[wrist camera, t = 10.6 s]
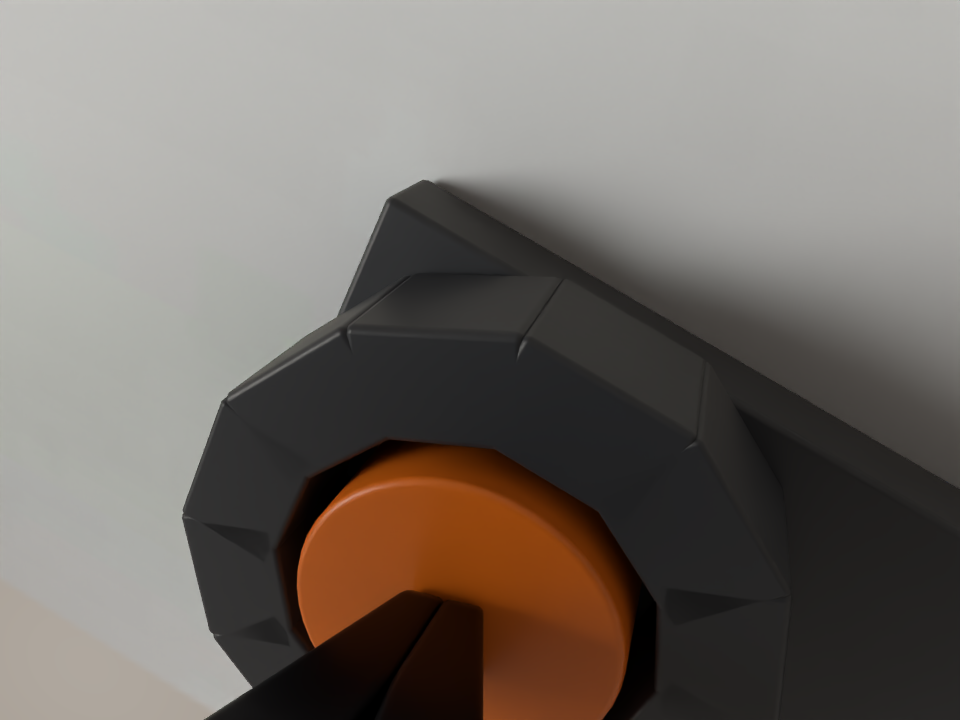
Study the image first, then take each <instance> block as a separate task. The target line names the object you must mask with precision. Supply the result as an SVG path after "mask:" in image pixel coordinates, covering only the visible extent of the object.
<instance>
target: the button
mask: <svg viewBox="0 0 960 720" xmlns="http://www.w3.org/2000/svg"><path fill="white" fill-rule="evenodd" d="M641 585H642V580H641V578H640V577H639V575H638V573H637V572H636V570H635V569H634V567H633V566H632V564H631V562H630V561H629V559H628V558H627V556H626V555H625V553H624V551H623V550H622V548H621V547H620V545H619V544H618V542H617V540H616V539H615V537H614V536H613V534H612V533H611V531H610V529H609V528H608V526H607V525H606V523H605V522H604V520H603V518H602V517H601V515H600V514H599V512H598V511H596V510H594V509H593V508H591V507H589V506H588V505H586V504H584V503H583V502H581V501H580V500H578V499H576V498H575V497H573V496H571V495H570V494H568V493H566V492H565V491H563V490H561V489H560V488H558V487H556V486H555V485H553V484H551V483H550V482H548V481H546V480H545V479H543V478H541V477H540V476H538V475H536V474H535V473H533V472H531V471H530V470H528V469H526V468H525V467H523V466H522V465H520V464H518V463H517V462H515V461H513V460H512V459H510V458H508V457H507V456H505V455H503V454H502V453H500V452H498V451H497V450H495V449H485V448H474V447H464V446H453V445H443V444H432V443H422V442H411V441H401V440H390V439H389V440H387V441H385V442H383V443H381V444H380V445H379V446H378V448H377V449H376V450H375V451H374V452H373V454H372V455H371V456H370V457H369V458H368V459H367V461H366V462H365V463H364V464H363V465H362V467H361V468H360V469H359V470H358V471H357V472H356V474H355V475H354V476H353V477H352V478H351V479H350V481H349V482H348V483H347V484H346V485H345V487H344V488H343V489H342V490H341V491H340V492H339V494H338V495H337V496H336V497H335V498H334V500H333V501H332V502H331V503H330V504H329V505H328V507H327V508H326V509H325V510H324V511H323V513H322V514H321V515H320V516H319V517H318V518H317V520H316V521H315V523H314V524H313V526H312V528H311V529H310V531H309V533H308V534H307V537H306V539H305V542H304V545H303V547H302V550H301V555H300V560H299V565H298V571H297V593H298V602H299V607H300V611H301V615H302V619H303V623H304V625H305V628H306V630H307V633H308V635H309V638H310V640H311V642H312V644H313V646H314V647H317V646H319V645H320V644H322V643H323V642H325V641H326V640H328V639H329V638H331V637H332V636H334V635H336V634H337V633H339V632H340V631H342V630H343V629H345V628H346V627H348V626H349V625H351V624H353V623H354V622H356V621H357V620H359V619H360V618H362V617H363V616H365V615H366V614H368V613H370V612H371V611H373V610H374V609H376V608H377V607H379V606H380V605H382V604H383V603H385V602H386V601H388V600H390V599H391V598H393V597H394V596H396V595H397V594H399V593H401V592H403V591H406V590H414V591H418V592H422V593H426V594H430V595H434V596H438V597H440V598H441V599H442V600H443V602H444V601H447V600H455V601H459V602H463V603H467V604H472V605H476V606H479V607H480V608H481V609H482V610H483V720H602V719H603V718H604V717H605V715H606V714H607V713H608V711H609V710H610V709H611V707H612V706H613V704H614V702H615V700H616V698H617V696H618V694H619V692H620V690H621V687H622V684H623V680H624V676H625V673H626V668H627V662H628V657H629V651H630V646H631V640H632V635H633V629H634V624H635V618H636V613H637V607H638V602H639V596H640V591H641Z"/></svg>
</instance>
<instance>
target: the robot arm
mask: <svg viewBox="0 0 960 720" xmlns="http://www.w3.org/2000/svg"><path fill="white" fill-rule="evenodd" d="M204 720H483V610H482V609H481V608H480V607H479V606H476V605H472V604H467V603H463V602H459V601H455V600H447V601H444V602H443V600H442V599H441V598H440V597H438V596H434V595H430V594H426V593H422V592H418V591H414V590H406V591H403V592H401V593H399V594H397V595H396V596H394V597H393V598H391V599H390V600H388V601H386V602H385V603H383V604H382V605H380V606H379V607H377V608H376V609H374V610H373V611H371V612H370V613H368V614H366V615H365V616H363V617H362V618H360V619H359V620H357V621H356V622H354V623H353V624H351V625H349V626H348V627H346V628H345V629H343V630H342V631H340V632H339V633H337V634H336V635H334V636H332V637H331V638H329V639H328V640H326V641H325V642H323V643H322V644H320V645H319V646H317V647H315V648H314V649H312V650H311V651H309V652H308V653H306V654H305V655H303V656H302V657H300V658H298V659H297V660H295V661H294V662H292V663H291V664H289V665H288V666H286V667H285V668H283V669H281V670H280V671H278V672H277V673H275V674H274V675H272V676H271V677H269V678H268V679H266V680H264V681H263V682H261V683H260V684H258V685H257V686H255V687H254V688H252V689H251V690H249V691H248V692H246V693H244V694H243V695H241V696H240V697H238V698H237V699H235V700H234V701H232V702H231V703H229V704H227V705H226V706H224V707H223V708H221V709H220V710H218V711H217V712H215V713H214V714H212V715H210V716H209V717H207V718H206V719H204Z"/></svg>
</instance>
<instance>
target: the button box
mask: <svg viewBox="0 0 960 720" xmlns="http://www.w3.org/2000/svg"><path fill="white" fill-rule="evenodd" d="M389 439H390V440H401V441H411V442H422V443H432V444H443V445H453V446H464V447H474V448H485V449H495V450H497V451H498V452H500V453H502V454H503V455H505V456H507V457H508V458H510V459H512V460H513V461H515V462H517V463H518V464H520V465H522V466H523V467H525V468H526V469H528V470H530V471H531V472H533V473H535V474H536V475H538V476H540V477H541V478H543V479H545V480H546V481H548V482H550V483H551V484H553V485H555V486H556V487H558V488H560V489H561V490H563V491H565V492H566V493H568V494H570V495H571V496H573V497H575V498H576V499H578V500H580V501H581V502H583V503H584V504H586V505H588V506H589V507H591V508H593V509H594V510H596V511H598V512H599V514H600V515H601V517H602V518H603V520H604V522H605V523H606V525H607V526H608V528H609V529H610V531H611V533H612V534H613V536H614V537H615V539H616V540H617V542H618V544H619V545H620V547H621V548H622V550H623V551H624V553H625V555H626V556H627V558H628V559H629V561H630V562H631V564H632V566H633V567H634V569H635V570H636V572H637V573H638V575H639V577H640V578H641V580H642V585H641V591H640V596H639V602H638V607H637V613H636V618H635V624H634V629H633V635H632V640H631V646H630V651H629V657H628V662H627V668H626V673H625V676H624V680H623V684H622V687H621V690H620V692H619V694H618V696H617V698H616V700H615V702H614V704H613V706H612V707H611V709H610V710H609V711H608V713H607V714H606V715H605V717H604V718H603V719H602V720H960V490H959V489H958V488H956V487H954V486H952V485H951V484H949V483H947V482H946V481H944V480H942V479H940V478H939V477H937V476H935V475H934V474H932V473H930V472H928V471H927V470H925V469H923V468H922V467H920V466H918V465H916V464H915V463H913V462H911V461H910V460H908V459H906V458H904V457H903V456H901V455H899V454H898V453H896V452H894V451H892V450H891V449H889V448H887V447H885V446H884V445H882V444H880V443H879V442H877V441H875V440H873V439H872V438H870V437H868V436H867V435H865V434H863V433H861V432H860V431H858V430H856V429H855V428H853V427H851V426H849V425H848V424H846V423H844V422H843V421H841V420H839V419H837V418H836V417H834V416H832V415H830V414H829V413H827V412H825V411H824V410H822V409H820V408H818V407H817V406H815V405H813V404H812V403H810V402H808V401H806V400H805V399H803V398H801V397H800V396H798V395H796V394H794V393H793V392H791V391H789V390H788V389H786V388H784V387H782V386H781V385H779V384H777V383H775V382H774V381H772V380H770V379H769V378H767V377H765V376H763V375H762V374H760V373H758V372H757V371H755V370H753V369H751V368H750V367H748V366H746V365H745V364H743V363H741V362H739V361H738V360H736V359H734V358H733V357H731V356H729V355H727V354H726V353H724V352H722V351H721V350H719V349H717V348H715V347H714V346H712V345H710V344H708V343H707V342H705V341H703V340H702V339H700V338H698V337H696V336H695V335H693V334H691V333H690V332H688V331H686V330H684V329H683V328H681V327H679V326H678V325H676V324H674V323H672V322H671V321H669V320H667V319H666V318H664V317H662V316H660V315H659V314H657V313H655V312H653V311H652V310H650V309H648V308H647V307H645V306H643V305H641V304H640V303H638V302H636V301H635V300H633V299H631V298H629V297H628V296H626V295H624V294H623V293H621V292H619V291H617V290H616V289H614V288H612V287H611V286H609V285H607V284H605V283H604V282H602V281H600V280H598V279H597V278H595V277H593V276H592V275H590V274H588V273H586V272H585V271H583V270H581V269H580V268H578V267H576V266H574V265H573V264H571V263H569V262H568V261H566V260H564V259H562V258H561V257H559V256H557V255H556V254H554V253H552V252H550V251H549V250H547V249H545V248H544V247H542V246H540V245H538V244H537V243H535V242H533V241H531V240H530V239H528V238H526V237H525V236H523V235H521V234H519V233H518V232H516V231H514V230H513V229H511V228H509V227H507V226H506V225H504V224H502V223H501V222H499V221H497V220H495V219H494V218H492V217H490V216H489V215H487V214H485V213H483V212H482V211H480V210H478V209H476V208H475V207H473V206H471V205H470V204H468V203H466V202H464V201H463V200H461V199H459V198H458V197H456V196H454V195H452V194H451V193H449V192H447V191H446V190H444V189H442V188H440V187H439V186H437V185H435V184H434V183H432V182H430V181H428V180H422V181H420V182H418V183H416V184H414V185H412V186H410V187H409V188H407V189H405V190H403V191H401V192H399V193H397V194H395V195H393V196H391V197H390V198H389V199H387V200H386V202H385V205H384V207H383V209H382V212H381V214H380V216H379V219H378V221H377V224H376V226H375V228H374V231H373V233H372V235H371V238H370V240H369V242H368V245H367V247H366V250H365V252H364V254H363V257H362V259H361V261H360V264H359V266H358V268H357V271H356V273H355V276H354V278H353V280H352V283H351V285H350V287H349V290H348V292H347V294H346V297H345V299H344V302H343V304H342V306H341V309H340V311H339V313H338V316H337V317H336V318H335V319H333V320H331V321H330V322H328V323H327V324H325V325H323V326H322V327H320V328H318V329H317V330H315V331H313V332H312V333H310V334H308V335H307V336H305V337H304V338H303V339H301V340H300V341H299V342H297V343H296V344H294V345H293V346H292V347H290V348H289V349H288V350H286V351H285V352H284V353H282V354H281V355H280V356H278V357H277V358H275V359H274V360H273V361H271V362H270V363H269V364H267V365H266V366H265V367H263V368H262V369H260V370H259V371H258V372H256V373H255V374H254V375H252V376H251V377H250V378H248V379H247V380H245V381H244V382H243V383H241V384H240V385H239V386H237V387H236V388H235V389H233V390H232V391H231V392H229V394H228V396H227V397H226V398H225V399H224V400H222V402H221V404H220V407H219V410H218V413H217V415H216V418H215V421H214V424H213V427H212V429H211V432H210V435H209V438H208V441H207V443H206V446H205V449H204V452H203V454H202V457H201V460H200V463H199V466H198V468H197V471H196V474H195V477H194V480H193V482H192V485H191V488H190V491H189V494H188V496H187V499H186V502H185V505H184V507H183V517H182V519H183V523H184V527H185V531H186V536H187V540H188V544H189V548H190V552H191V556H192V560H193V564H194V568H195V573H196V577H197V581H198V585H199V589H200V593H201V597H202V601H203V605H204V610H205V614H206V618H207V622H208V626H209V630H210V631H211V633H213V634H214V638H215V640H216V641H217V642H218V644H219V645H220V646H221V648H222V649H223V650H224V651H225V653H226V654H227V655H228V657H229V658H230V659H231V661H232V662H233V663H234V664H235V666H236V667H237V668H238V670H239V671H240V672H241V673H242V675H243V676H244V677H245V679H246V680H247V681H248V682H249V684H250V685H251V686H252V688H254V687H255V686H257V685H258V684H260V683H261V682H263V681H264V680H266V679H268V678H269V677H271V676H272V675H274V674H275V673H277V672H278V671H280V670H281V669H283V668H285V667H286V666H288V665H289V664H291V663H292V662H294V661H295V660H297V659H298V658H300V657H302V656H303V655H305V654H306V653H308V652H309V651H311V650H312V649H314V648H315V647H314V646H313V644H312V642H311V640H310V638H309V635H308V633H307V630H306V628H305V625H304V623H303V619H302V615H301V611H300V607H299V602H298V593H297V571H298V565H299V560H300V555H301V550H302V547H303V545H304V542H305V539H306V537H307V534H308V533H309V531H310V529H311V528H312V526H313V524H314V523H315V521H316V520H317V518H318V517H319V516H320V515H321V514H322V513H323V511H324V510H325V509H326V508H327V507H328V505H329V504H330V503H331V502H332V501H333V500H334V498H335V497H336V496H337V495H338V494H339V492H340V491H341V490H342V489H343V488H344V487H345V485H346V484H347V483H348V482H349V481H350V479H351V478H352V477H353V476H354V475H355V474H356V472H357V471H358V470H359V469H360V468H361V467H362V465H363V464H364V463H365V462H366V461H367V459H368V458H369V457H370V456H371V455H372V454H373V452H374V451H375V450H376V449H377V448H378V446H379V445H380V444H381V443H383V442H385V441H387V440H389Z"/></svg>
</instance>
